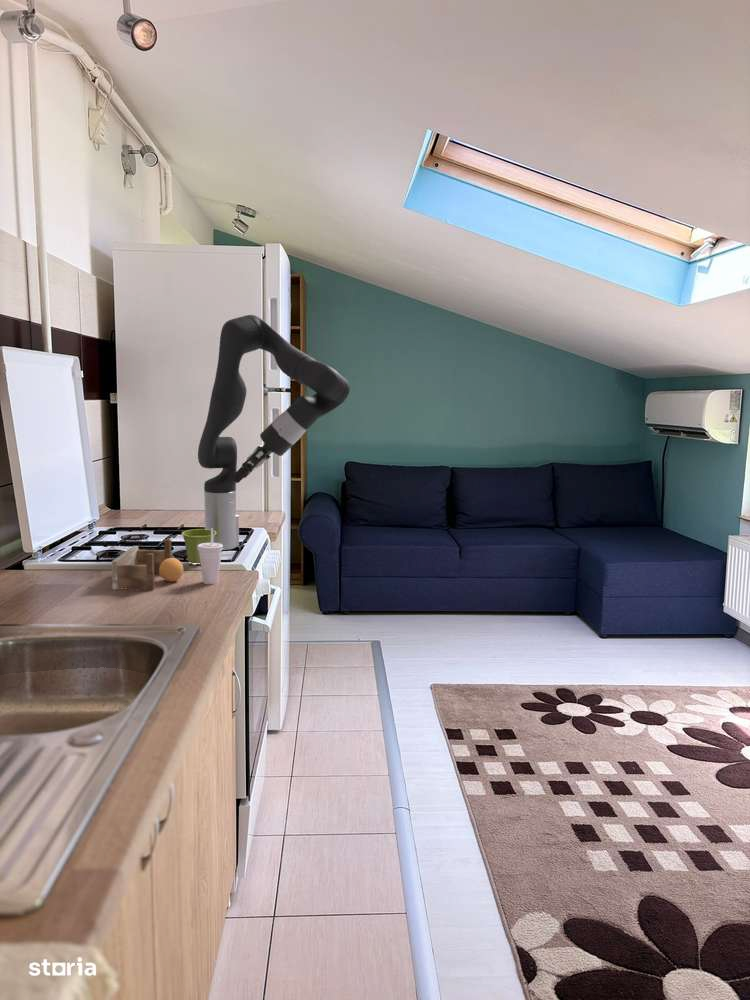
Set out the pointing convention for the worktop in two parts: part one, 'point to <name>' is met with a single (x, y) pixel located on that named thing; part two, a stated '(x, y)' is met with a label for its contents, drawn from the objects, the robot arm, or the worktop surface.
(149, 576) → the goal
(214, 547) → the smoothie
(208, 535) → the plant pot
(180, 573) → the ball
